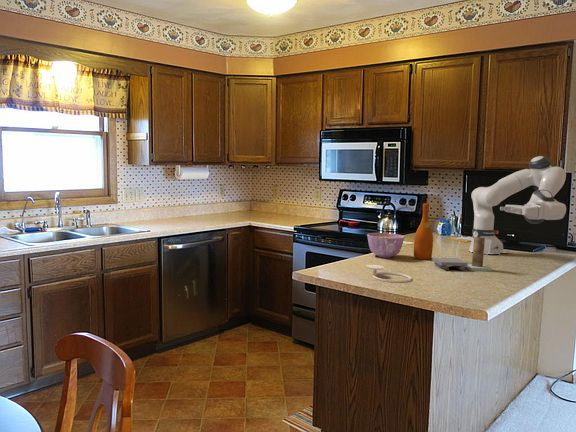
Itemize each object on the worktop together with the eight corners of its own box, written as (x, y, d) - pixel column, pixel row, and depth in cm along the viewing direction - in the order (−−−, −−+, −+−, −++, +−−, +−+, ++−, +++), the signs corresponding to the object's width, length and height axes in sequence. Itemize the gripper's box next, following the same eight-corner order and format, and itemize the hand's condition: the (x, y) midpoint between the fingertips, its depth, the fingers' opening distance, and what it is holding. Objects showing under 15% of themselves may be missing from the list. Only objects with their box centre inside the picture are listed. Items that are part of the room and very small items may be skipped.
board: (482, 266, 249) (482, 264, 249) (491, 271, 239) (491, 268, 239) (462, 266, 249) (463, 263, 249) (471, 270, 239) (471, 267, 239)
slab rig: (456, 265, 250) (457, 257, 250) (467, 271, 237) (468, 263, 237) (431, 265, 249) (432, 257, 249) (441, 270, 236) (441, 262, 236)
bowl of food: (393, 261, 255) (394, 239, 253) (359, 256, 267) (360, 234, 265) (409, 256, 271) (410, 235, 269) (376, 251, 283) (377, 231, 281)
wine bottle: (411, 258, 265) (414, 203, 262) (415, 256, 274) (419, 202, 271) (429, 260, 260) (433, 204, 257) (433, 258, 269) (437, 203, 266)
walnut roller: (477, 264, 247) (479, 237, 246) (484, 266, 243) (487, 238, 241) (469, 265, 245) (471, 237, 244) (477, 267, 241) (479, 238, 239)
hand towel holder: (406, 275, 204) (359, 268, 214) (405, 285, 204) (358, 278, 214) (416, 268, 219) (372, 262, 228) (416, 278, 219) (372, 271, 229)
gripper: (522, 202, 253) (495, 201, 252) (545, 205, 232) (516, 204, 231) (521, 214, 253) (494, 213, 252) (543, 219, 233) (515, 218, 232)
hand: (505, 209), depth 242 cm, fingers open, 8 cm apart
